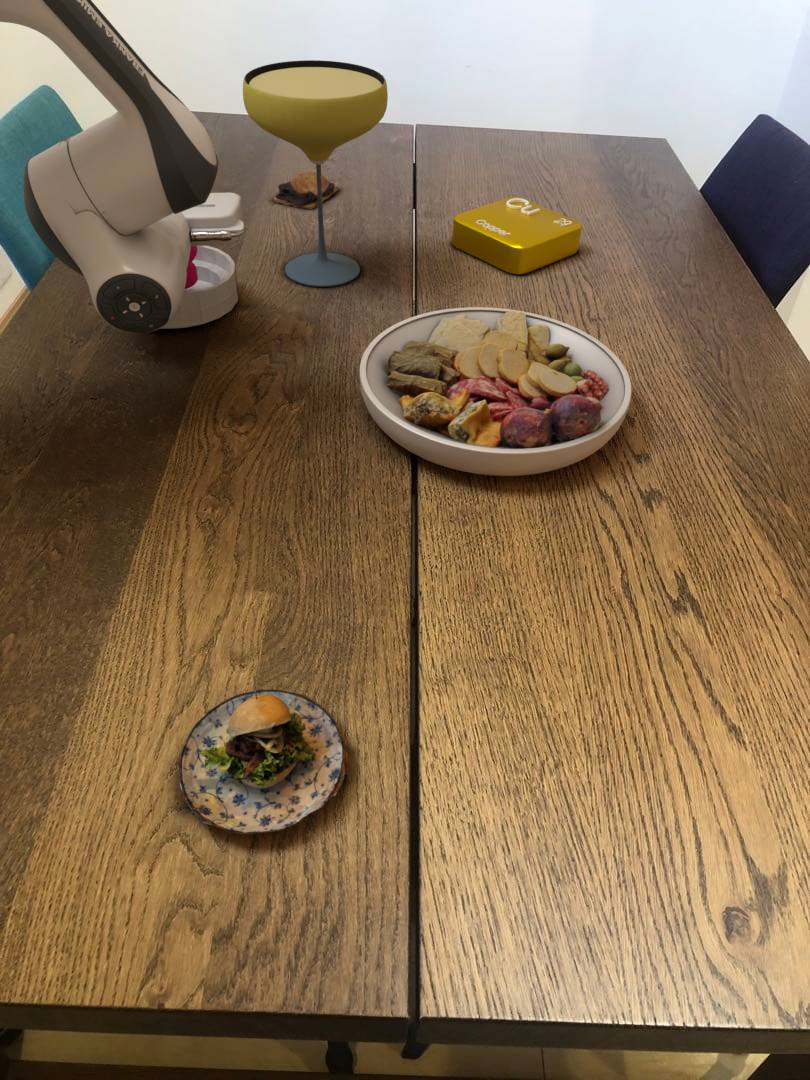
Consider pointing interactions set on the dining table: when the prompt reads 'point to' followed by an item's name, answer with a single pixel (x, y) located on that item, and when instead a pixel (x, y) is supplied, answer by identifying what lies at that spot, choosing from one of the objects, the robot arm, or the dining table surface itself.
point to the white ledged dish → (208, 290)
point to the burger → (262, 762)
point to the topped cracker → (304, 190)
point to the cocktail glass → (316, 132)
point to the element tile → (516, 235)
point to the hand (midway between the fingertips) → (160, 193)
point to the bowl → (494, 390)
